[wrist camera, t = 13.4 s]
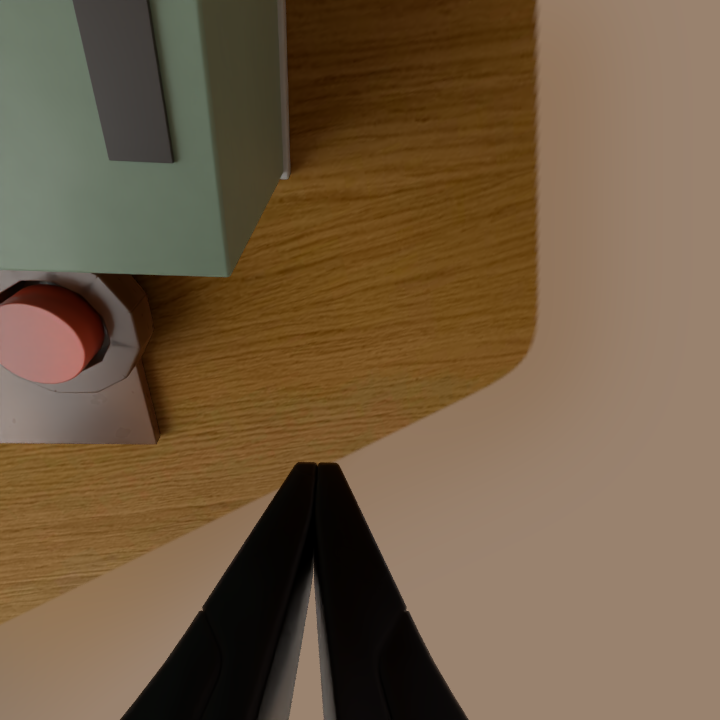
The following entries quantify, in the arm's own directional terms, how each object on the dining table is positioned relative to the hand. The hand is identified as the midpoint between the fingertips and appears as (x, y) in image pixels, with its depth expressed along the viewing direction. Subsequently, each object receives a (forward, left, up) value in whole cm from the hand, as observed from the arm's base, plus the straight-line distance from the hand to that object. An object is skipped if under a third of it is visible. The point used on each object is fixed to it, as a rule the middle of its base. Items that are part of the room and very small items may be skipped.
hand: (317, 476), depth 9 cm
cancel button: (+11, +2, -11) cm, 15 cm away
